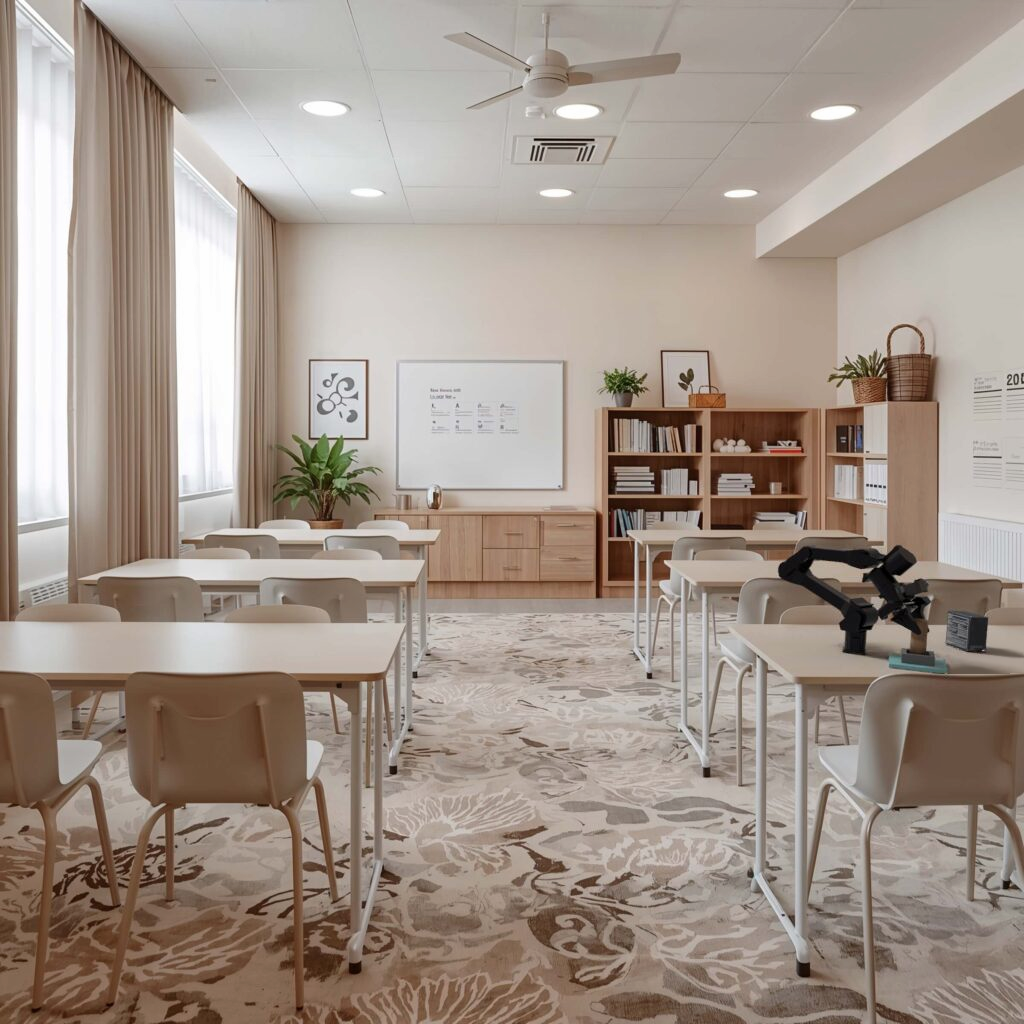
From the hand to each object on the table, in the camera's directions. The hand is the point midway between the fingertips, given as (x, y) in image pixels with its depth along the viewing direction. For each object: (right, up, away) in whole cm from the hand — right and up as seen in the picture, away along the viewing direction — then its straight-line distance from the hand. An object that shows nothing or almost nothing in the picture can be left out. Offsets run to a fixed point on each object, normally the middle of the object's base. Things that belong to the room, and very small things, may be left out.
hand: (924, 633), depth 239 cm
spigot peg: (-1, -6, +2) cm, 7 cm away
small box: (+24, -8, +27) cm, 37 cm away
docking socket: (-1, -9, +2) cm, 9 cm away
